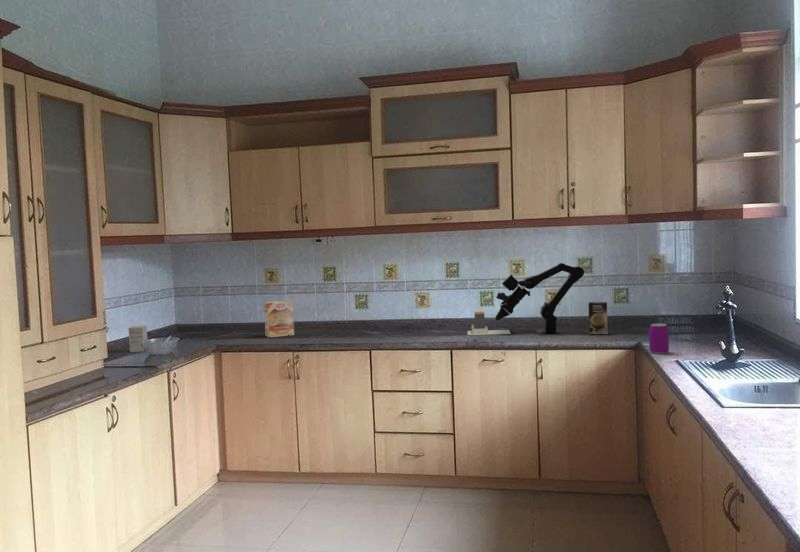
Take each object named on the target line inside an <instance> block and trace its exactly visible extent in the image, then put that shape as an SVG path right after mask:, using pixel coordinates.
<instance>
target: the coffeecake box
mask: <svg viewBox="0 0 800 552" xmlns="http://www.w3.org/2000/svg"><path fill="white" fill-rule="evenodd" d="M293 302H294V301H293V300H290V299H287V300H276V301H266V302H263V310H264V311H263V312H264V329H265V330H264V333H265V337H266V336H267V338H269V337H271V338H278V337H288V335H289V336H295V323H294V321H295V320H294V304H293Z"/></svg>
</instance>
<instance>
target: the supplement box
mask: <svg viewBox="0 0 800 552" xmlns="http://www.w3.org/2000/svg"><path fill="white" fill-rule="evenodd" d="M127 330H128V342H129V343H128V344H129V352H130V353H136V352H139V353H140V352H145V351H144V349H143V348H142V346H141V342H142V341H144V340H147V341H148V331H147V330H148V329H147V325H145V324H144V325H143V324H141V325H132V326H129V327H128V329H127Z"/></svg>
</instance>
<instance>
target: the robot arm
mask: <svg viewBox="0 0 800 552" xmlns="http://www.w3.org/2000/svg"><path fill="white" fill-rule="evenodd" d="M561 272H565V273H568V276H567V278H566V279H565V281H564V282H563V283H562V285H561V286H560V288H559V289H558V290H557V291H556V293H555V294H554V295H553V297H552V298H551V299H550V301H548V302H547V301H544V302H543V305H542V306H541V307H540V311H539V313H540V315H541V317H542V318H543V319H544V331H541V332H542V333H544V334H549V335H550V334H559V333H560V331H557V321H558V320H557V319H558V318H557V316H556V315H554V313H555V311H556V309H557V306H558V305H559V304H560V302H561V301H562V300H563V299H564V297H565V295H566V294H567V293H568V291H569V290H570V289H571V288H572V287H573V285H574V284H576V283H577V282H578V281H579V280H580V279H582V278H583V276H584V275H585V271H584V268H583V267H581V266H577V265H576V266H572V265H568V264H565V263H564V262H560V263H558V264H556V265H554V266H552V267H550V268H548V269H546V270H544V271H542V272H540V273H539V274H536V275H531V276H527V277H526V278H524V279H522V280H517V279H516V278H515V277H514V276H513V275H512V274H509V276H508V277H507V278H505V279H504V281H503V282H502V283H501V285H502V286H503V287H505V288H506V289H507V290H508V291H509V292H511V291H512V294H509V295H506V293H505V292H502V291H501V292H498V293H497V295H496V299H498V300H501V301H502V302H501V303H500V309H499V310H498V312H497V313H496V316H495V320H496V321H499V320H501V319H504V318H506V317H508V316H510V315H512V314H513V313H514V309H515V308H516V306H517V305H518V304H520V303H521V301H522V300H523V299H524V298H525V297H526V295H527V296H528V297H531V291H530V290H533V289H534V288H535V287H536V286H538V285H539V284H540V283H542V282H543V281H545V280H546V279H550V278H551V277H553V276H555V275H556V274H559V273H561Z"/></svg>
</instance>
